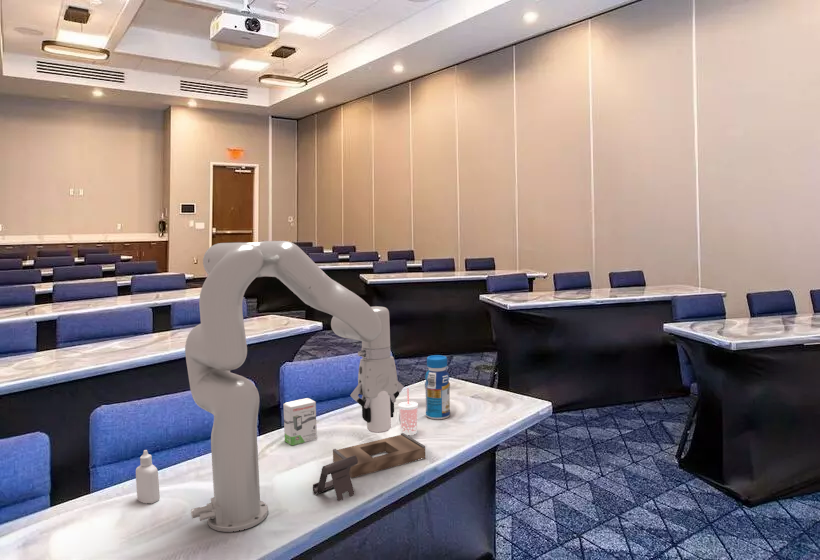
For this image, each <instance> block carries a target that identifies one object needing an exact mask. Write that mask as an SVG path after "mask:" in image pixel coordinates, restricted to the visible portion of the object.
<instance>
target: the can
mask: <svg viewBox="0 0 820 560" xmlns="http://www.w3.org/2000/svg"><path fill="white" fill-rule="evenodd" d="M381 389H382V388H381ZM369 408H370V409H371V422H370V423H368V422H366V429H367V431H369V432H371V433H376V434H380V433H386V432H388V431H390V429H392V419H391V410H390V395H388V393H387V392H386V391H381V392H380V393H379V394H378V396H377V397H375V398H371V400H370V403H369Z"/></svg>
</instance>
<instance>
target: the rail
mask: <svg viewBox="0 0 820 560" xmlns="http://www.w3.org/2000/svg"><path fill="white" fill-rule="evenodd" d="M382 453H386V454H382ZM378 454H382V455H378ZM354 455H355V456H356V457H357V459H358V463H357V464H356V465H353V466H351V468H350V472H349V474H350V477H351V479H353V478H356V477H360V476H364V475H368V474H373V473H376V472H379V471H383V470H387V469H391V468H395V467H397V466H401V465H406V464H409V462H410V463H413V462H416V461H415V460H417V461H419V460H418V459H421V458H424V459H426V445H424V444H423V443H421V442H419V441H418V440H415V439H414V438H412V437H410V436H408V435H406V434H404V433H400V434H398V435H394V436H389V437H386V438H381V439H377V440H372V441H368V442H365V443H359V444H356V445H352V446H347V447H344V448H339V449H336V448H333V449H332V461H333V462H332V463H334V462H337V461H340V460H343V459H345V458H348V457H351V456H354ZM374 455H378V456H374ZM373 456H374V457H373ZM421 460H422V459H421ZM412 461H413V462H412ZM405 463H406V464H405ZM394 466H395V467H394Z"/></svg>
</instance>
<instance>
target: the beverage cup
mask: <svg viewBox="0 0 820 560" xmlns="http://www.w3.org/2000/svg"><path fill="white" fill-rule="evenodd" d="M409 389H410V388H409V387H408V388H406V393H407V394H406V395H407V396H406V397H407V398H406V399H407V401H402V402H399V403H398V404H397V405H398V409H399V419H400V431H401V433H404V434H406V435H410V436H414V434H415V435H416V434H417V433H418V431H417V428H418V408H419V403H418V402H417V401H410V390H409ZM401 433H400V434H401Z"/></svg>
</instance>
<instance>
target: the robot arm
mask: <svg viewBox="0 0 820 560" xmlns="http://www.w3.org/2000/svg"><path fill="white" fill-rule="evenodd" d="M202 265H203V269H204V271H205V273H206V274H207V277H206V278H205V280H204V282H203V284H202V286H201V290H200V294H199V305H198V306H199V315H200V316H199V317H200V323H199V324H197V325H196V326H195V327H193V328H192V329H190V331H189V333H188V335H187V336H186V340H185V346H184V352H185V361H186V367H187V375H188V382H189V390H190V392H191V393H190V395H191V397H192V399H193V401H194V403H195V404H196V405H197V406H198V407H199V408H200V409H202V410H203V411H205V412H207V413H210V414H212V415H213V425H212V429H211V434H210V451H211V452H210V453H211V466H212V481H213V482H212V483H213V485H212V486H213V497H211V498H210V502H209V503H206V505H204V506H199V507H196V508H191V509H190V512H191V513H190V515H191V518H192V519H195V518H199V521H200V522H201V521H202V522H203V521H205V520H207V525H208V526H209V528H211V529H212V530H214V531H218V532H224V533H233V531H234V532H239V530H240V531H243V530H244V529H245V530H247V529H251V528H252V527H256V526H257V525H259V524H260V523H262V522H263V521H264V520H265V519H266V518H267V516H268V514H269V508H268V504H267V503H266V502H264V501H262V500H261V493H260V471H259V469H260V468H259V467H260V465H259V452H258V451H259V450H258V449H259V447H258V415H259V410H260V394H259V391H258V388H257V387H256V385H255V384H254V383H253V382H252V380H250V379H248V378H247V377H245V376H243V375H239V374H237V373H233V372H231V371H234V370H237V369H238V368H240V367H241V366H242V365H243V364H244V363H245V361H246V358H247V355H248V345H247V339H246V338H247V337H246V330H245V321H244V316H243V315H244V313H243V299H244V296H245V293H246V291H247V289H248V287H249V286H250V285H251V283H252V282H253V281H254V280H255V279H256V278H263V277H270V278H271V277H272V278H276V279H277V280H279V281H280V282H281V283H283V284H284V285H285V286H286V287H287V288H288V289H289V290H290V291H291V292H293V294H294V295H296V296H297V297H298V298H299V299H300V300H301V301H302V302H303V303H304V304H305V305H307V306H310V308H313V309H315V310H317V311H320V312H323V313H326V314H329V315H331V316H332V318H331V321H330V327H331V330H332V331H333V333H334V334H335V335H336V336H338V337H340V338H344V339H348V340H355V341H359V342H360V341H361V349H360V350H358V351H357V356H358V357H362V358H360V360H359V365H358V374H357V377H358V378H357V382H358V383H357V385H356V387H355V388H354V390H353V391H352V392H351V394H350V397H351V398H352V400H354V401H355V402H357V403H358V405H360V406H361V415H362V416H361V417H362V419H363V420H364V421H365V422H366V423H367V422H368V423H370V422H371V409H370V408H369V403H370V400H371V398H375V397H377V396H378V394H379V393H380V392H381V391H386V392H387V393H388V395H390V410H391V418H394V413H395V402H396V401H397V399H398V397H399V396H400V394H401V392H402V390H403V389H404V388H405V386H404V385H403V384H402V383H401V382H400V381H399V380H398V373H397V367H396V366H397V365H396V362H395V357H394V356H392V355H391V329H390V328H391V327H390V311H389V309H388V308H387V307H385V306H377V305H375V306H370V304H368V303H367V302H366V301H365V300H364V299H363V298H362V297H360V296H359V295H357V294H356V293H355V292H354V291H351V290H349V289H348V288H347V287H345V286H343V285H342V284H340V282H337V281H336V280H334V279H332V278H331V277H329V276H328V274H326V273H325V271H323V270H322V268H320V267H319V266H318V264H317V263H315V261H313V259H312V258H311V257H309V256H308V254H307V253H306V252H304V250H302V248H300V247H299V246H298V245H297V244H295V243H294V242H291V241H288V240H267V241H253V242H220V243H219V242H218V243H215V244H213V245H211V246H210V247H209V248H208V249H207V250H206V252H205V253H204V255H203V258H202ZM381 388H382V389H381ZM359 395H361V397H359Z"/></svg>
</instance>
